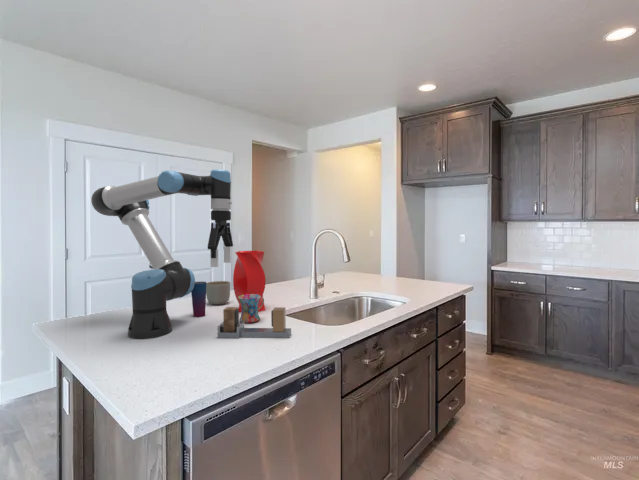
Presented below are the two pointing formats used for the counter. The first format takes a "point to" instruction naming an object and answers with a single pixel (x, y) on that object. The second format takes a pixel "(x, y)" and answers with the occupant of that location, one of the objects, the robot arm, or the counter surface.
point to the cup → (199, 299)
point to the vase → (249, 276)
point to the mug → (250, 307)
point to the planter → (218, 292)
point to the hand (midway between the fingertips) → (221, 264)
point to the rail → (276, 332)
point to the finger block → (231, 318)
